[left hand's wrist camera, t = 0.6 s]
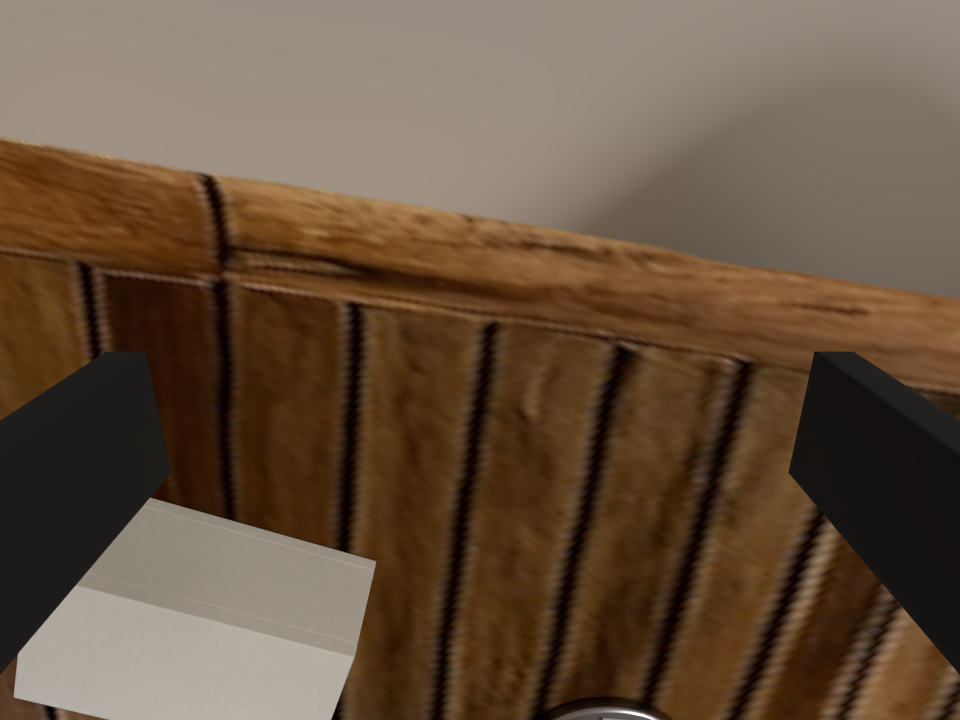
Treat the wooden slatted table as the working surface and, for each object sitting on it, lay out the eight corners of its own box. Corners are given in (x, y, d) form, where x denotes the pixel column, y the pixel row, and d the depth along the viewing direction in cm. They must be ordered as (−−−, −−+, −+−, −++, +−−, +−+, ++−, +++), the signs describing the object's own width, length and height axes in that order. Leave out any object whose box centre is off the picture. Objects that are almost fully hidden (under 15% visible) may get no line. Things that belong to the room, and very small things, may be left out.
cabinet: (93, 596, 49) (13, 697, 40) (110, 485, 45) (26, 572, 36) (340, 660, 51) (312, 768, 43) (376, 560, 47) (354, 657, 39)
